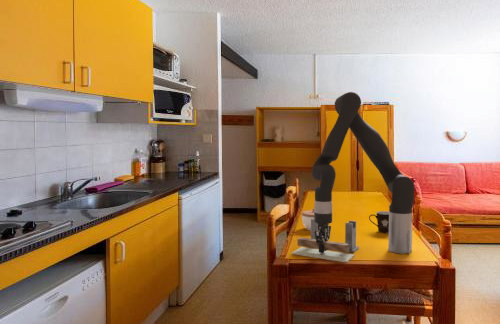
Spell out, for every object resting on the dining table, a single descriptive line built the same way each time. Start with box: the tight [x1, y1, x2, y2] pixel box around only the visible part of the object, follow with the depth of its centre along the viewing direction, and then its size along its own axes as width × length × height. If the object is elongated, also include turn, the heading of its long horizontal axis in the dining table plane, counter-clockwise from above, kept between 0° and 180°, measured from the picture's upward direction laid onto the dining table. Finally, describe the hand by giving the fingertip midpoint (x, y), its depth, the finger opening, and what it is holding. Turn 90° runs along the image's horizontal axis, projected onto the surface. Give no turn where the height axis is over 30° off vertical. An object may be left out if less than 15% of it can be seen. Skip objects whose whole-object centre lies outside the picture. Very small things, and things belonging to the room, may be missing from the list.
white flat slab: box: [291, 246, 355, 263], centre depth 176 cm, size 24×10×1 cm, turn 60°
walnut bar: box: [296, 237, 349, 254], centre depth 176 cm, size 22×3×3 cm, turn 60°
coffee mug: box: [368, 210, 389, 234], centre depth 217 cm, size 12×9×10 cm
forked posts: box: [310, 219, 360, 254], centre depth 187 cm, size 21×8×12 cm, turn 60°
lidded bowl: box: [301, 208, 314, 232], centre depth 223 cm, size 13×13×11 cm
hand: (322, 251), depth 176 cm, fingers closed on walnut bar, 3 cm apart
